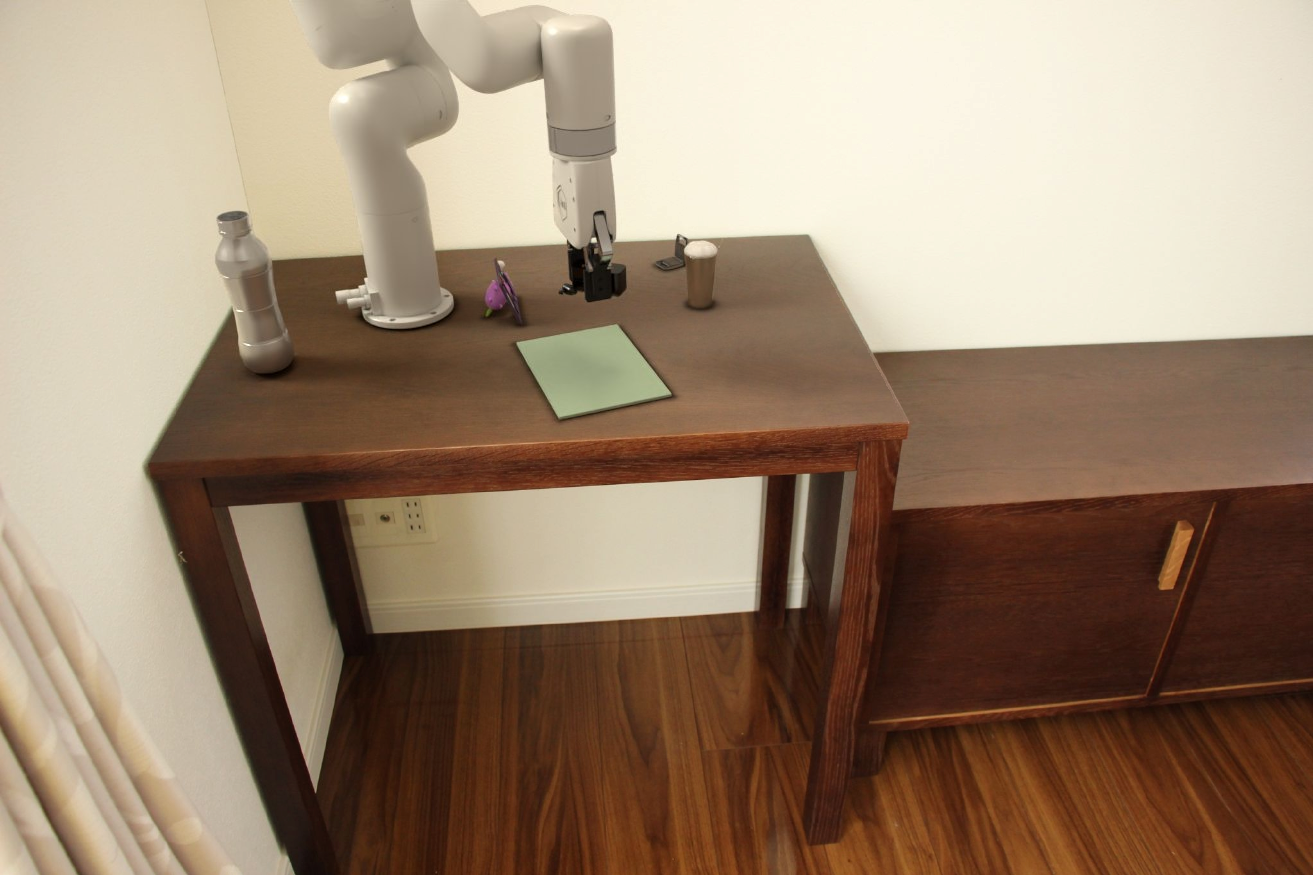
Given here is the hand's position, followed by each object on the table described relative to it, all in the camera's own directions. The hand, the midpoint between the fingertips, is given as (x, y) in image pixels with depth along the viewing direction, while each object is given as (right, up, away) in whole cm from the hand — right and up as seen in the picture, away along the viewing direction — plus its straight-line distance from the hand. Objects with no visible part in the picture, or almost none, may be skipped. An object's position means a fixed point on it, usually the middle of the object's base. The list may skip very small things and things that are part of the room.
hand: (590, 288), depth 118 cm
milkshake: (+14, +1, +21) cm, 26 cm away
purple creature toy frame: (-14, -1, +20) cm, 24 cm away
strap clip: (+12, +9, +34) cm, 37 cm away
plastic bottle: (-41, -9, +8) cm, 43 cm away
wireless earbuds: (0, -1, 0) cm, 1 cm away
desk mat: (0, -9, +6) cm, 11 cm away
